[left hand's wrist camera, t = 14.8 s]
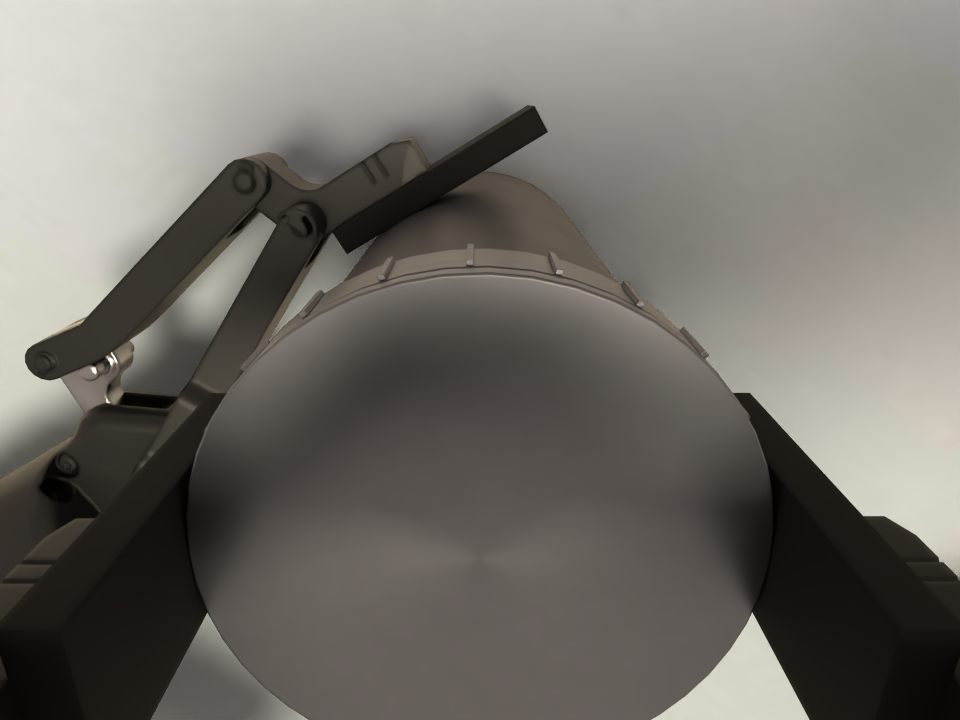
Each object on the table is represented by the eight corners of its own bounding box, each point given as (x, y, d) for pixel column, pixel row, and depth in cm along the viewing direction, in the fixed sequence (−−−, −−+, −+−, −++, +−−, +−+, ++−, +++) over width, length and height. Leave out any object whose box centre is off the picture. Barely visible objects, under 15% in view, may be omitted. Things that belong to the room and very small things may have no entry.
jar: (629, 295, 27) (831, 560, 12) (467, 417, 29) (452, 785, 14) (494, 122, 25) (520, 161, 9) (328, 268, 27) (116, 505, 11)
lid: (710, 178, 10) (751, 193, 9) (763, 648, 14) (799, 720, 12) (134, 316, 11) (78, 352, 10) (317, 729, 14) (297, 806, 13)
